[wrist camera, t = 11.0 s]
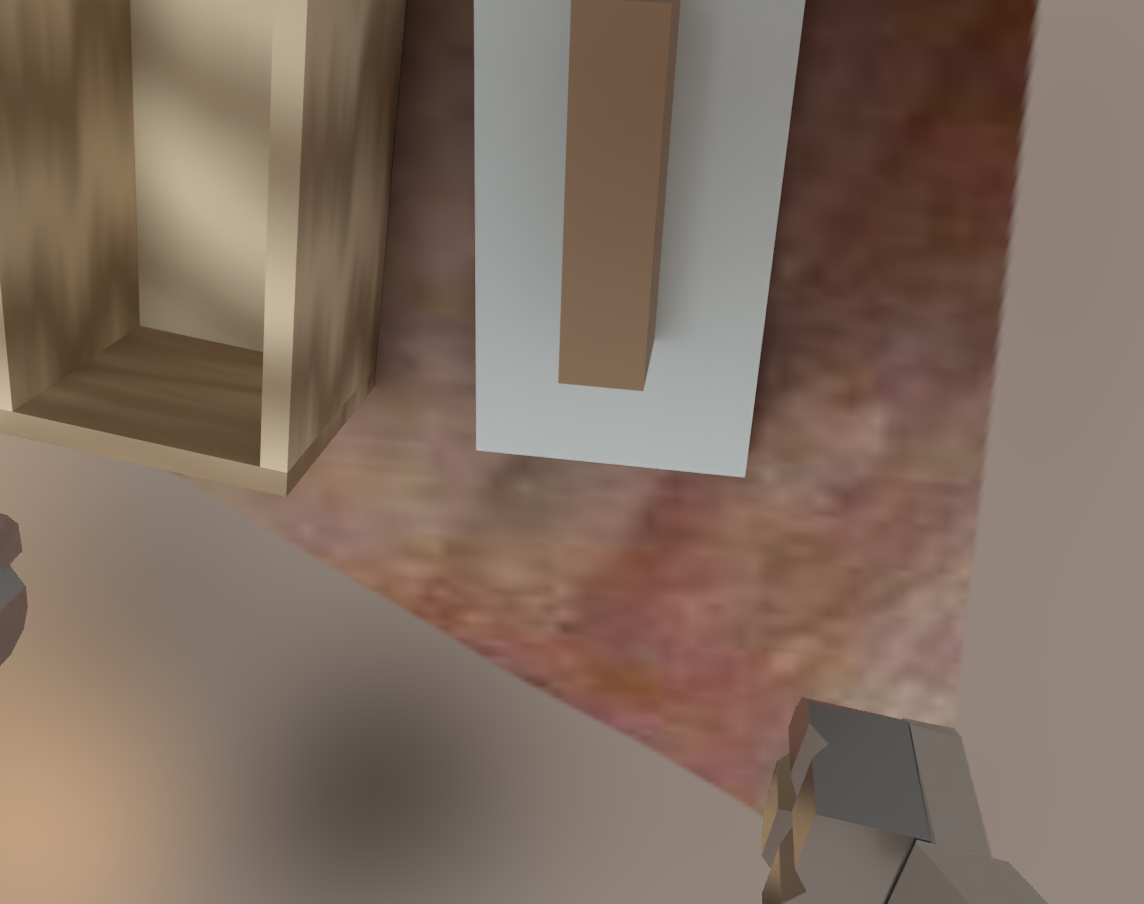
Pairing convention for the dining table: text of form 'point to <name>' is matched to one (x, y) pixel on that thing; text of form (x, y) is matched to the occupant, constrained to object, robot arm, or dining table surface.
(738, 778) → the dining table surface
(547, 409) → the lid
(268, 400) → the light wooden open box
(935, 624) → the dining table surface
